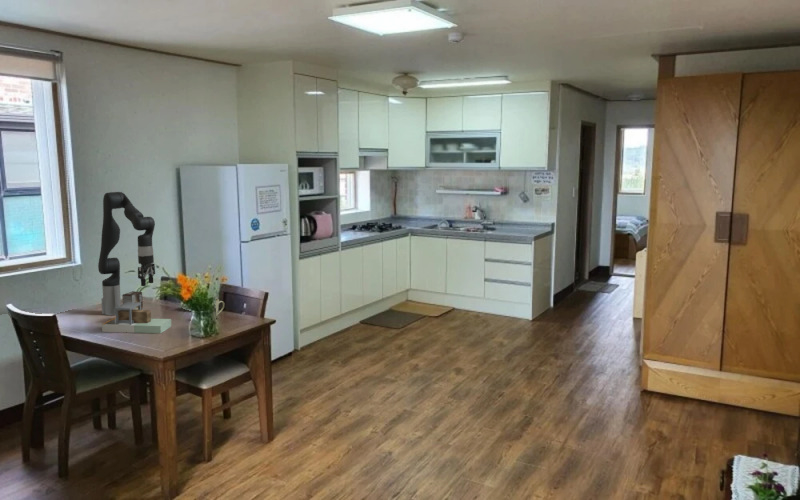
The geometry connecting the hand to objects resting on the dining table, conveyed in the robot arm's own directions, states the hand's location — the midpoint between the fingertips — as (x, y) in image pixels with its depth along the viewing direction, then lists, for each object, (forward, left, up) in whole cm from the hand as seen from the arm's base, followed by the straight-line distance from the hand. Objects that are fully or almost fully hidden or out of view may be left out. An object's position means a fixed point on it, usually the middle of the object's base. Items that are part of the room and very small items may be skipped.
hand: (147, 284), depth 310 cm
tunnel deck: (-6, 0, -25) cm, 25 cm away
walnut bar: (-8, 0, -21) cm, 22 cm away
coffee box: (-16, +16, -25) cm, 34 cm away
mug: (+27, +22, -25) cm, 43 cm away
